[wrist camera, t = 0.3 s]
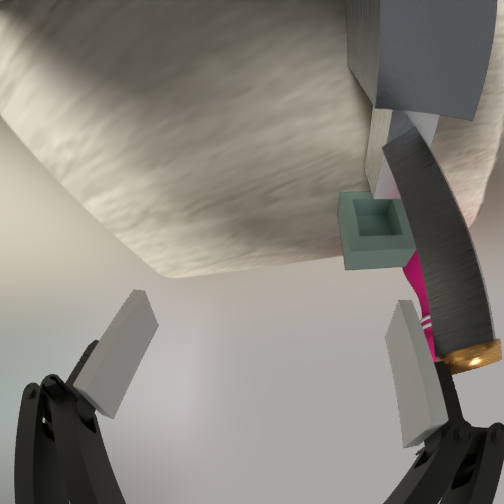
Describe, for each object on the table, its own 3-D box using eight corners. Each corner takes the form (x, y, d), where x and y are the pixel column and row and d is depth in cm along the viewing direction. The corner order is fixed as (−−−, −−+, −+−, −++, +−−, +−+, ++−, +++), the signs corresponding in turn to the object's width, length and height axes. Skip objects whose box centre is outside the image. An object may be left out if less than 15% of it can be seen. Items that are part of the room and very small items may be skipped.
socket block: (340, 192, 28) (350, 251, 24) (399, 191, 26) (417, 248, 23) (337, 214, 31) (345, 270, 28) (391, 213, 30) (405, 266, 26)
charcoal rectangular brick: (338, -56, 7) (374, -64, 3) (437, -35, 5) (497, -18, 2) (347, 65, 15) (374, 108, 12) (430, 74, 14) (472, 121, 11)
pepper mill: (449, 220, 30) (481, 367, 20) (423, 246, 36) (444, 377, 26) (411, 213, 30) (442, 379, 20) (386, 242, 36) (404, 386, 26)
